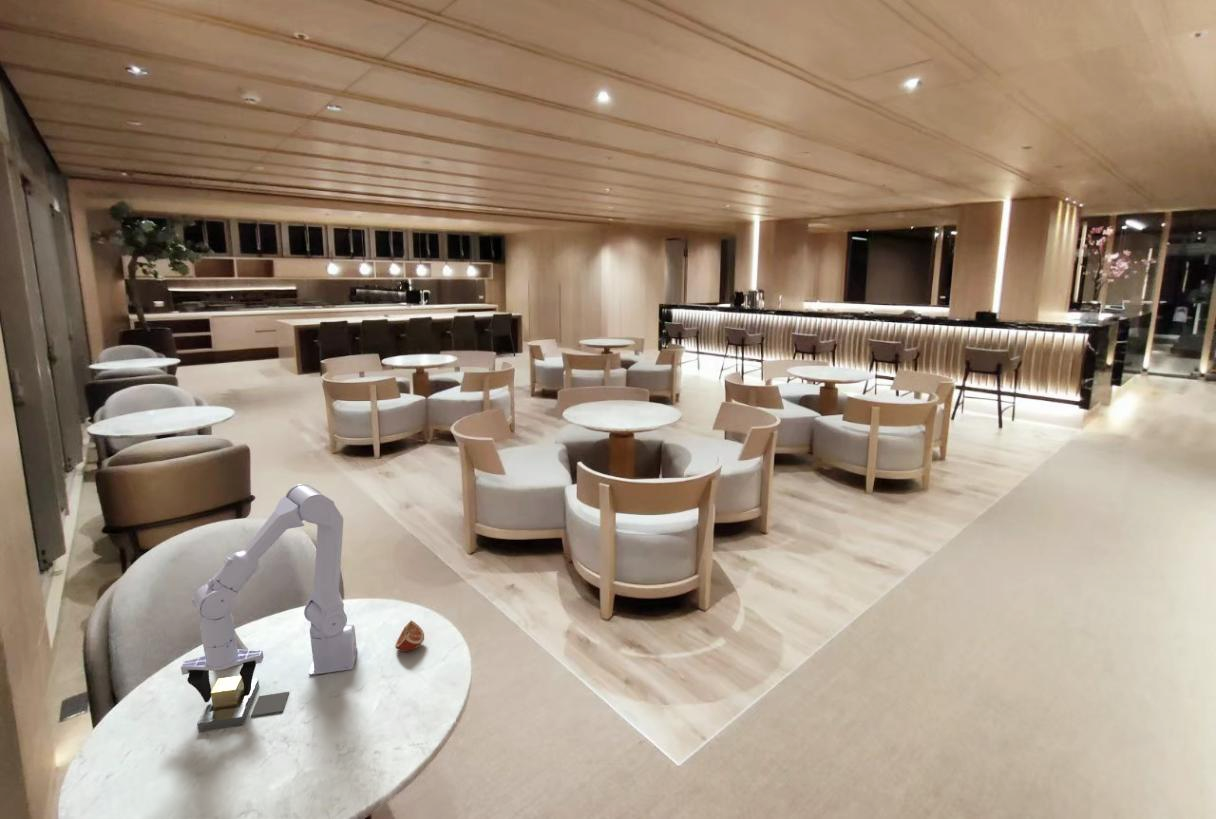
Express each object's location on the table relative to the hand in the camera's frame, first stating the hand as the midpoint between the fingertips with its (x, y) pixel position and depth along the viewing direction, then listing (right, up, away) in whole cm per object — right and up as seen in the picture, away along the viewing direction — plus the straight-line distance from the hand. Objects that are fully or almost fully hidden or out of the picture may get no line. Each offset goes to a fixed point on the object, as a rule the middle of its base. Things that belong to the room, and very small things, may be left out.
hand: (228, 695), depth 129 cm
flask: (-9, +1, +16) cm, 19 cm away
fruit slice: (+32, +2, +22) cm, 38 cm away
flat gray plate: (+8, -3, +2) cm, 9 cm away
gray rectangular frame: (0, -3, +1) cm, 3 cm away
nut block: (0, -3, +1) cm, 3 cm away
